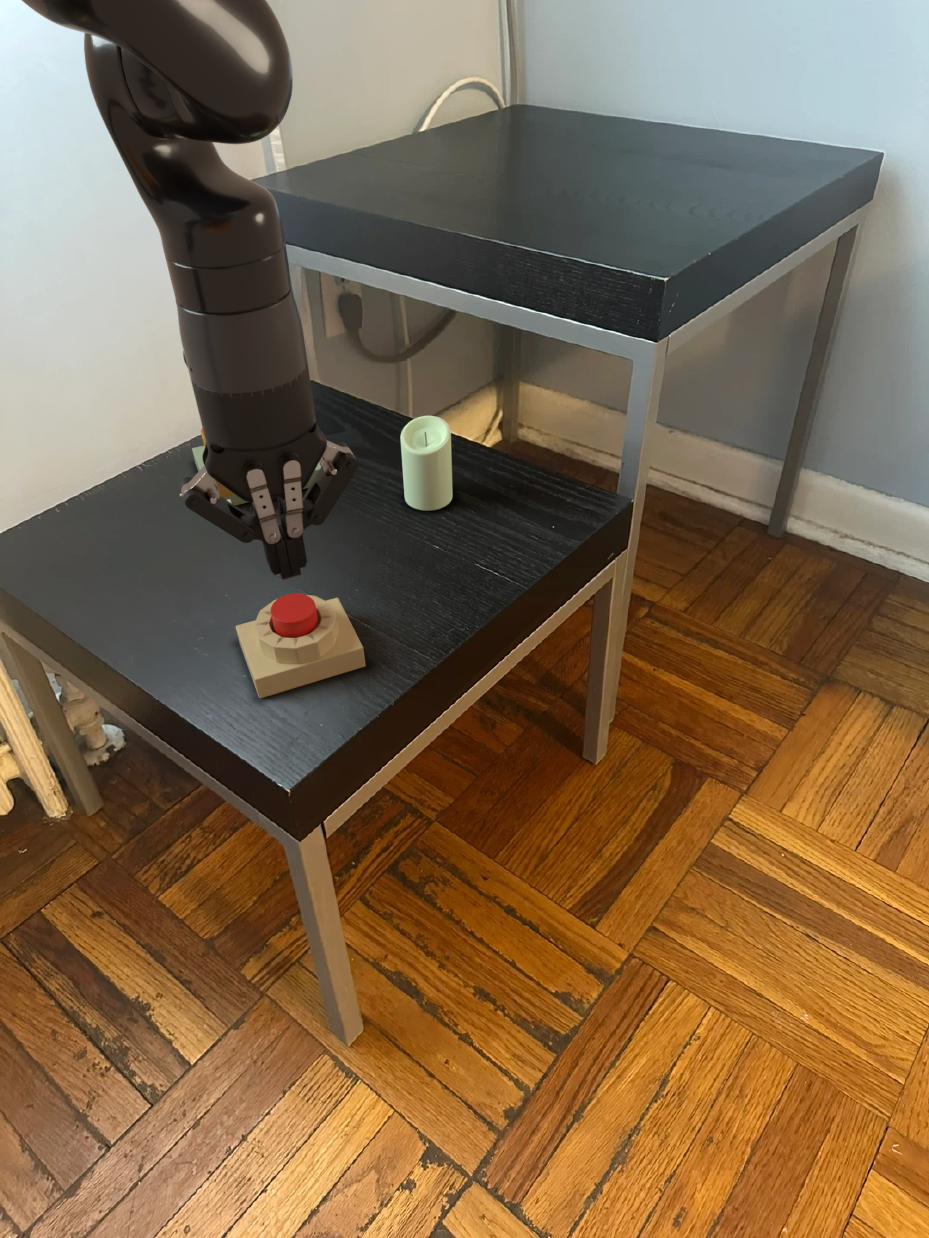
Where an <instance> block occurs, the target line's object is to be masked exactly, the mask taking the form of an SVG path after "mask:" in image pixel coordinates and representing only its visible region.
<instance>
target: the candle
mask: <svg viewBox="0 0 929 1238" xmlns="http://www.w3.org/2000/svg"><path fill="white" fill-rule="evenodd" d="M400 451H401V465H402V479H403V480H402V481H403V494H404V495H403V496H404V501H405V503H406V504H407V505H408V506H410V507H411V508H413V509H415V510H419V511H423V512H425V511H426V512H429V511H430V512H431V511H437V510H440V509H442V508H444V507H447V506H448V505H449V504H450V503H451V502H452V500H453V467H452V466H453V463H452V462H453V461H452V460H453V459H452V433H451V427H450V425H449V423H447V421H445V419H443V418H441V417H439V416H435V415H422V416H418V417H415V418H413V419H412V420H410V421H409V422H407V424H406V425H405V426H404V427H403V428H402V430H401V433H400Z"/></svg>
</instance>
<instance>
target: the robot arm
mask: <svg viewBox="0 0 929 1238" xmlns="http://www.w3.org/2000/svg"><path fill="white" fill-rule="evenodd" d="M21 2H23V3H24V4H25V5H26V6H27V7H29V8H30V9H31V10H33V11H34V12H35V13H37V14H39V15H40V16H42V17H43V18H45V19H46V20H48V21H50V22H52V23H54V24H56V25H58V26H61V27H63V28H66V29H69V30H73V31H77V32H80V33H83V34H84V35H83V53H84V64H85V70H86V74H87V79H88V83H89V87H90V91H91V93H92V94H91V95H92V97H93V99H94V102H95V105H96V108H97V110H98V112H99V115H100V117H101V119H102V121H103V124H104V126H105V128H106V130H107V132H108V134H109V136H110V138H111V140H112V142H113V144H114V146H115V148H116V150H117V152H118V154H119V156H120V158H121V160H122V162H123V164H124V166H125V168H126V170H127V172H128V174H129V176H130V178H131V180H132V183H133V184H134V186H135V188H136V190H137V192H138V193H137V194H138V195H139V196H140V198H141V200H142V202H143V204H144V205H145V207H146V208H147V210H148V212H149V214H150V216H151V218H152V220H153V222H154V224H155V226H156V228H157V230H158V233H159V237H160V242H161V246H162V250H163V254H164V257H165V261H166V266H167V269H168V274H169V278H170V281H171V286H172V290H173V294H174V298H175V304H176V311H177V321H178V330H179V331H178V332H179V336H180V342H181V346H182V350H183V351H182V356H183V357H182V358H183V361H184V364H185V366H186V368H187V370H188V374H189V378H190V383H191V387H192V390H193V394H194V398H195V402H196V407H197V411H198V415H199V419H200V423H201V427H202V428H203V431H204V435H205V440H206V444H205V449H204V452H203V456H202V459H203V463H204V466H203V468H202V469H201V470H200V471H198V472H197V473H196V474H195V475H194V476H193V477H191V476H186V477H183V478H182V479H181V480H180V481H179V483H178V485H179V489H180V492H181V493H182V495H183V496H182V498H183V500H184V504H185V507H186V508H187V509H189V510H190V511H191V512H194V513H195V514H196V515H198V516H200V517H201V518H203V519H205V520H206V521H208V522H209V523H211V524H213V525H214V526H216V527H218V529H221V530H222V531H223V532H225V533H227V534H228V535H230V536H232V537H234V538H235V539H237V540H238V541H240V542H241V543H244V544H249V543H252V542H253V541H255V540H257V541H261V542H262V545H263V550H264V554H265V559H266V562H267V565H268V567H269V570H270V572H271V573H272V574H273V575H274V576H275V575H276V576H277V575H280V577H281V580H282V581H285V580H288V579H291V578H294V577H299V576H301V575H302V571H301V569H303V568H306V567H307V564H308V563H307V562H308V558H307V553H306V546H305V541H304V540H305V539H304V533H305V532H304V531H305V530H306V529H307V528H308V527H309V526H312V525H313V526H320V525H322V524H323V523H324V522H325V521H326V520H327V518H328V516H329V514H330V513H331V511H332V510H333V508H334V506H335V505H336V503H337V502H338V501H339V498H340V497H341V495H342V494H343V492H344V490H345V489H346V487H347V486H348V484H349V482H351V479H352V477H353V476H354V474H355V473H356V471H357V469H358V467H359V462H358V460H357V458H356V456H355V455H354V453H353V451H352V449H351V448H350V447H349V446H348V443H346V442H343V441H339V442H337V443H334V442H333V441H330V440H327V437H326V435H325V433H323V431H322V429H321V427H320V426H319V424H318V423H317V417H316V410H315V404H314V396H313V389H312V383H311V377H310V371H309V364H308V357H307V356H308V355H307V350H306V344H305V337H304V336H305V335H304V330H303V323H302V318H301V315H300V312H299V309H298V305H297V302H296V299H295V295H294V294H295V293H294V290H293V286H292V283H293V282H292V278H291V271H290V265H289V264H290V263H289V257H288V251H287V243H286V239H285V232H284V225H283V221H282V217H281V216H282V215H281V212H280V209H279V206H278V204H277V201H276V199H275V197H274V196H273V194H272V193H271V192H270V191H269V190H268V189H267V188H265V187H264V186H262V185H260V184H258V183H257V182H254V181H252V180H250V179H249V178H246V177H245V176H242V175H241V174H239V173H237V172H235V170H232V169H231V168H230V167H229V166H228V165H226V164H225V162H224V161H223V160H222V158H221V156H220V153H219V152H218V149H217V148H216V145H215V144H214V143H216V144H217V143H218V144H224V145H245V144H246V145H247V144H251V143H255V142H257V141H260V140H262V139H264V138H266V137H267V136H270V134H271V133H273V131H275V130H276V129H277V127H278V126H279V125H280V124H281V123H282V121H283V120H284V118H285V116H286V114H287V112H288V109H289V106H290V103H291V100H292V94H293V87H294V75H293V74H294V73H293V64H292V56H291V52H290V49H289V45H288V42H287V39H286V36H285V33H284V31H283V29H282V26H281V24H280V22H279V20H278V18H277V15H276V13H275V12H274V11H273V9H272V7H271V5H270V4H269V3H268V1H267V0H21ZM319 461H320V465H321V468H320V470H319V472H318V473H317V475H316V477H315V478H314V480H313V482H312V483H311V485H310V487H309V488H307V490H306V491H305V493H304V494H303V490H304V489H303V488H304V487H305V486H306V485H307V483H308V481H309V480H310V478H311V476H312V474H313V472H314V470H315V469H316V467H317V465H318V463H319ZM215 481H218V482H219V483H220V484H222V485H223V486H224V487H226V488H227V489H229V490H230V491H231V492H233V493H234V494H235V495H237V496H238V497H240V498H241V499H243V500H244V501H247V502H248V503H250V504H251V506H252V509H253V513H254V514H247V512H245V511H244V510H242V509H241V508H239V507H238V506H237V505H233V504H232V503H230V502H229V501H227V500H226V499H224V498H223V497H221V496H220V492H219V490H218V487H217V485H216V484H215ZM275 499H277V506H278V516H279V519H280V524H279V522H278V519H277V514H276V511H275V508H274V507H275V506H274V504H273V501H274V500H275Z"/></svg>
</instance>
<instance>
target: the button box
mask: <svg viewBox="0 0 929 1238" xmlns="http://www.w3.org/2000/svg"><path fill="white" fill-rule="evenodd" d="M306 595H307V596H309V597H311V598H312V599H313V600H314V602H315V605H316V611H317V617H318V624H317V627H316V628H315V630H314V631H312V632H311V633H310V634H308V635H305V636H301V637H298V638H285V637H282V636H280V635H279V634H277V633H276V631H275V630H274V626H273V621H272V617H271V611H270V610H271V606H272V604H273V603H274V602H275V601H276V600H277V599H278V598H276V599H274V600H273V601H271V602H270V603H268V604H267V605H266V606H264V607H263V608H262V609H260V610H259V612H258V614H257V617H256V618H255V620H252V621H248V622H244V623H241V624H238V625H235V631H236V634H237V638H238V641H239V645H240V649H241V651H242V654H243V657H244V660H245V662H246V665H247V668H248V671H249V673H250V676H251V679H252V682H253V685H254V687H255V691H256V693H257V696H258V699H264V698H266V697H270V696H273V695H277V694H280V693H283V692H286V691H289V690H293V689H295V688H299V687H302V686H306V685H309V684H313V683H316V682H319V681H322V680H325V679H329V678H331V677H335V676H338V675H341V674H345V673H348V672H351V671H355V670H358V669H361V668H365V667H366V659H365V658H366V657H365V652H364V651H365V649H364V646H363V644H362V642H361V640H360V638H359V636H358V635H357V632H356V630H355V628H354V626H353V625H352V623H351V621H350V618H349V617H348V615H347V612H346V611H345V608H344V607H343V605H342V602H341V601H340V598H339V597H335V598H331V599H326V600H324V599H323V598H321V597H319V596H318V595H311V594H306Z"/></svg>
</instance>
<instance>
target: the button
mask: <svg viewBox="0 0 929 1238" xmlns="http://www.w3.org/2000/svg"><path fill="white" fill-rule="evenodd" d="M307 595H308V594H303V593H289V594H285V595H283V596H281V597H279V598H276V599H277V600H276V599H275V600H276V601H275V602H274V603H273V604H272V606H271V610H270V611H271V617H272V621H273V626H274V630H275V631H276V633H277V634H279V635H280V636H282V637H285V638H298V637H301V636H305V635H308V634H310V633H311V632H312V631H314V630H315V628H316V627H317V624H318V617H317V611H316V605H315V602H314V600H313V599H312V598H311V597H309V596H307Z"/></svg>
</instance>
